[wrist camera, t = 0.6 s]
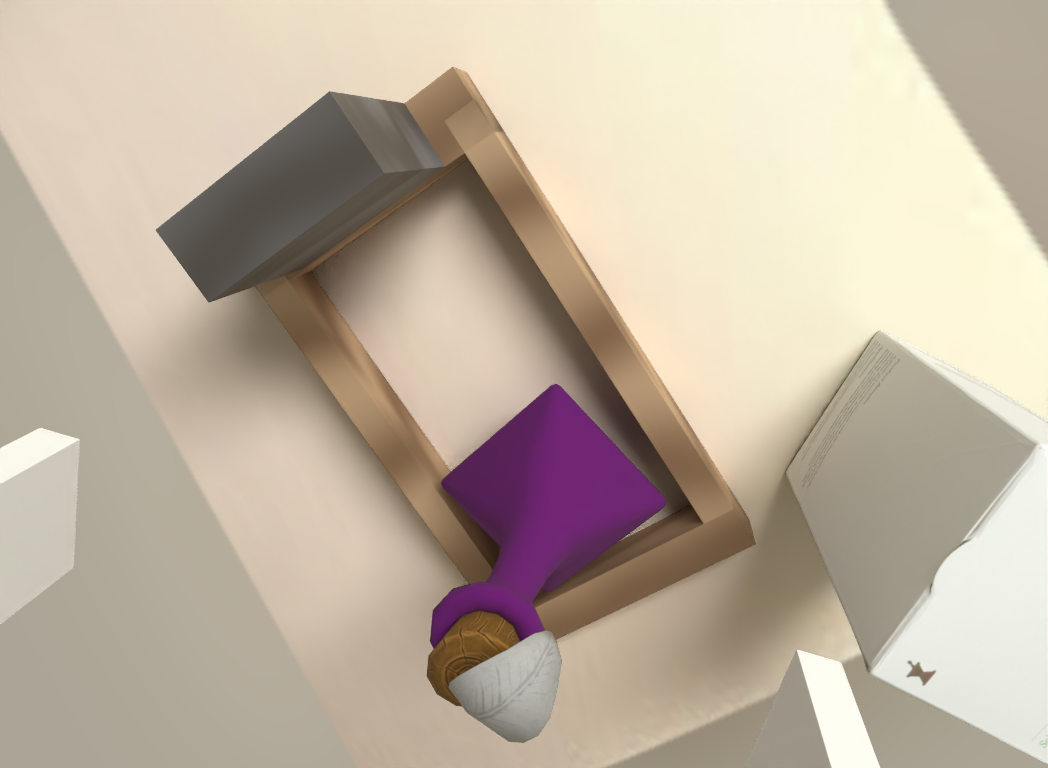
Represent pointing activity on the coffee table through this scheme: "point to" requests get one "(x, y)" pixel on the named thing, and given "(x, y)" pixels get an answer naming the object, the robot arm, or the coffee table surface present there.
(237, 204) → the strip frame
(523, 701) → the perfume bottle
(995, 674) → the skincare box
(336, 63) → the coffee table surface
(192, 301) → the coffee table surface
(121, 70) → the coffee table surface
